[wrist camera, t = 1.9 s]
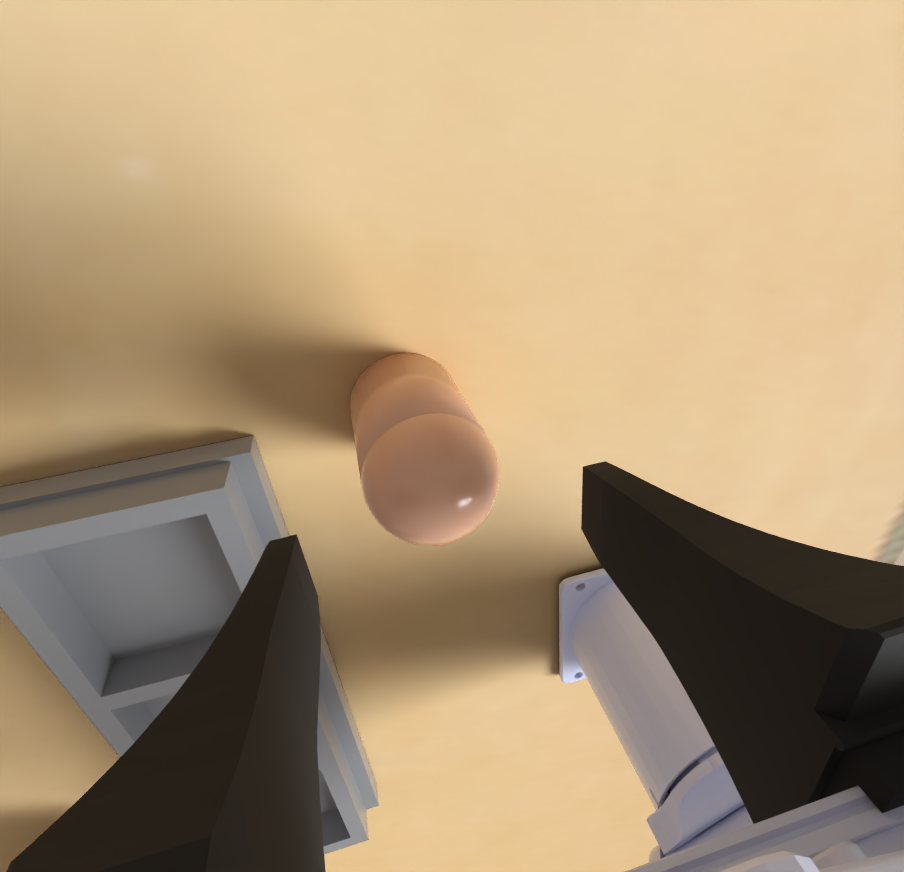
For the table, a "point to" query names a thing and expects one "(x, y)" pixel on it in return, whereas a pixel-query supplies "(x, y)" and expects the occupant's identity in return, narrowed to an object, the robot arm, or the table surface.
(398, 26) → the table surface
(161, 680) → the grey compartment tray
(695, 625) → the robot arm
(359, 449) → the tan rounded cylinder
